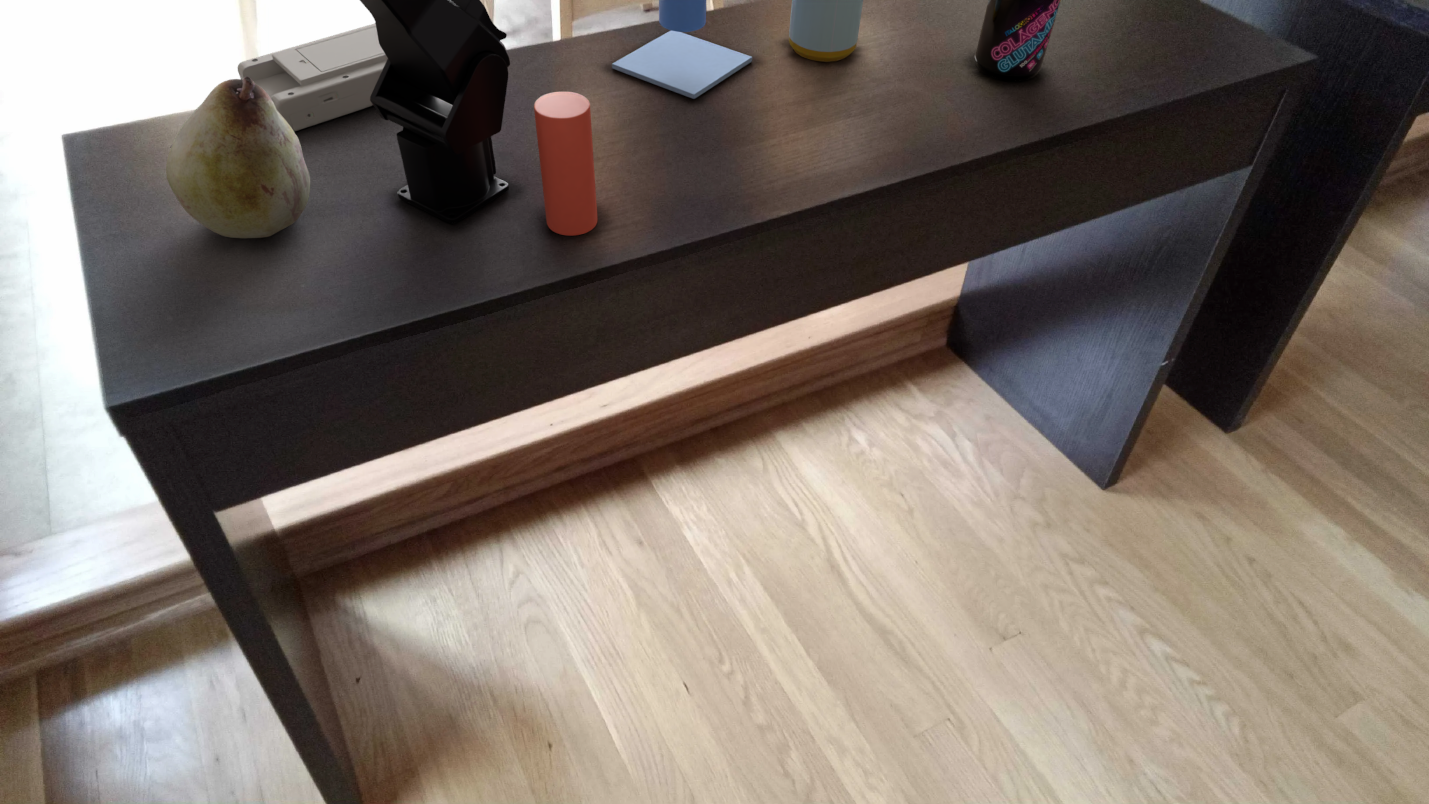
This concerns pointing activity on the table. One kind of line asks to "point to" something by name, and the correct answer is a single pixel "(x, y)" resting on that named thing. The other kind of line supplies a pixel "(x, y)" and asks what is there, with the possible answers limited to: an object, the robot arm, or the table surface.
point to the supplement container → (1015, 38)
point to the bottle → (824, 28)
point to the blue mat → (682, 63)
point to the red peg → (566, 162)
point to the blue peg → (682, 14)
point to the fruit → (239, 164)
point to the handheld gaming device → (320, 76)
